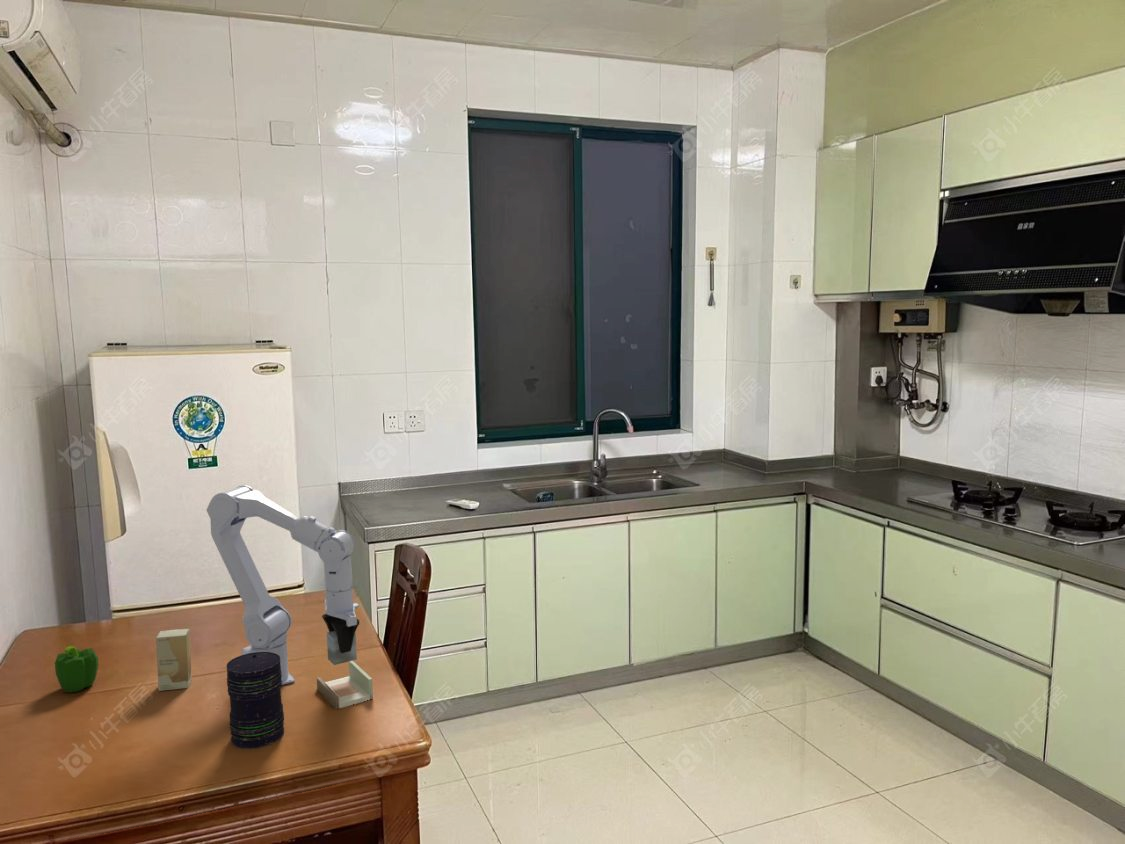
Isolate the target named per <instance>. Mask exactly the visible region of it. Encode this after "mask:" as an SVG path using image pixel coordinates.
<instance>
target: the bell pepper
mask: <svg viewBox="0 0 1125 844" xmlns="http://www.w3.org/2000/svg"><path fill="white" fill-rule="evenodd" d="M54 668H55V675H56V678H57V681H58V684H59V685H60V687H61V688H62V690H63V691H64V692H65V693H77V692H79V691H82V690H84V689H86V688H88V687H92V686H93V684H94V682H95V680H96V679H97V676H98V675H97V673H98V669H99V656H98V655H97V654H96V652H95V650H94V649H93V648H92V647H90V648H86V649H83V650H81V649H77V648H76V647H75V646H72V645H71V646H67V647H66V648H65V649H64V652H63V653H58V654H57V656H56V659H55V662H54Z"/></svg>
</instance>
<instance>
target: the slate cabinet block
mask: <svg viewBox="0 0 1125 844" xmlns="http://www.w3.org/2000/svg"><path fill="white" fill-rule="evenodd" d="M356 635H357V634H356V632H355V634H354V638H353V643H352V648H351V651H350V652H345V653H341V652H340V649H339V644H338V639H337V635H336V632H335V631H332V632H329V631H328V632H326V641H327V642H326V645H327V646H326V647H327V659H328V661H329V662H330V663H331V664H332V665H334V666H337V665H340V664H344V663H349V661H353V662H354V661H356V660H357V659H358V658H357V636H356Z"/></svg>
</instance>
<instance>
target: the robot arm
mask: <svg viewBox="0 0 1125 844" xmlns="http://www.w3.org/2000/svg"><path fill="white" fill-rule="evenodd" d="M206 513H207V514H208V517H209V519H210V535H211V538H212V541H214V545H215V546H216V548H217V550H218V552H219V554H220V557H221V559H222V561H223V563H224V565H225V567H226V569H227V572H228V574H229V576H230V578H231V580H232V582H233V584H234V586H235V589H236V591H237V593H238V595H239V596H240V597H239V598H240V599H241V602H242V603H243V605H244V612H243V616H242V619H241V620H242V623H243V625H244V630H245V631H244V633H245V634H244V635H245V639H246V640H247V642H248V643H249V644H250V645H248V646H246V647H243V648H241V653H240V654H241V655H244V654H249V653H255V652H271V653H275V654H278V655H279V656H280V664H281V671H282V678H281V680H282V686H283V685H288V684H291V683H294V682H295V678H294V677H293V676H292V674H291V673H290V672H289V660H288V659H289V657H288V655H289V654H288V640H287V638H288V631H289V630H290V628H291V626H292V622H293V621H292V616H291V614H290V613H289V611H288V610H287V609H285V608H284V606H283V605H282V604H281V602H280V600H279V599H277V598H276V597H273V596H271V595H270V594H269V591H268V590H267V588H266V585H265V583H264V581H263V578H262V577H261V574H260V572H259V571H258V568H257V566H256V564H255V561H254V559H253V558H252V555H251V553H250V550H249V549H248V547H247V545H246V543H245V540H244V538H243V536H242V534H241V530H242V528H243V526H244V524H245V522H246V520H247V518H254V517H256V518H257V517H258V518H260V519H262V520H265V521H267V522H268V523H271V524H274V525H275V526H278V527H280V528H282V529H284V530H287V531H289V532H290V536H291V539H292V540H294V541H295V542H298V543H299V544H302V545H303V546H304V547H307V548H308V549H310V550H312V551H314V552H316V553H317V554H318V557H319V558H320V559H321V560H322V562H323V569H324V570H323V571H324V586H325V587H324V588H325V590H324V591H325V599H324V601H323V602H324V609H325V614H322V615H321V617H322V619H323V621H324V623H325V625H326V627H327V629H328V630H327V631H328V632H332V631H335V632H336V635H337V639H338V644H339V649H340V652H341V653H345V652H350V651H351V648H352V643H353V638H354V634H355V633H356V631H357V629H358V627H359V625H360V620H359V619H358V618H357V615H356V613H355V610H356V609H357V610H358V609H359V608H360V604H359V603H357V602H354V591H353V590H354V589H353V584H354V583H353V568H352V566H353V565H352V555H351V554H352V553H353V552H354V550H355V546H356V542H355V539H354V536H352V535H351V534H350V533H349V532H348V531H347V530H346V529H345V530H344V529H339V530H336V529H335V528H334V527H333V526H331V527H329V526H327V525H325V524H323V523H321V522H320V521H317V517H316V516H313V515H310V516H308V515H303V516H300V517H299V516H297V515H295V514H294V513H293V512H290V511H289V510H287V509H285V508H283V507H282V506H280V505H279V504H277V503H275V502H274V501H272V500H271V499H269V498H267V497H266V496H264V494H263V493H262V492H261V491H260V490H257V489H254V488H253V487H251V486H250V485H246V484H244V485H243V484H242V485H238V486H237V487H235V488H232V489H229V490H227V491H224V492H219V493H217V494H215V495H213V497H212V498H211V500H210V501H209V503H208V506H207V507H206ZM241 655H240V656H241Z"/></svg>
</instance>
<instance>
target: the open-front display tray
mask: <svg viewBox="0 0 1125 844" xmlns="http://www.w3.org/2000/svg"><path fill="white" fill-rule="evenodd" d="M348 670H349V675H347V676H345V677H341V678H337V679H333V680H329V681H324V679H322V678H321V676H318V677H316V687H317V690H318V691H319V692H320V693H321V695H322V696H323V697H324V698H325V699H326V700H327V701H328V703H329V704H330V705H331V707H333V708H334V709H335V710H339V709H342V708H347V707H350V706H353V704H354V705H357V704H361V703H364V701H365V702H367V700H368V701H371V700H370V699H372V700H374V695H373V694H374V691H373V678H372V677H371V676H370V675H369V674H367V672H365V671H364V670H363V669H362V668H361V666H359V665H358V664H357V663H356V662H355V661H354V660H353V661H349V662H348Z"/></svg>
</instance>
